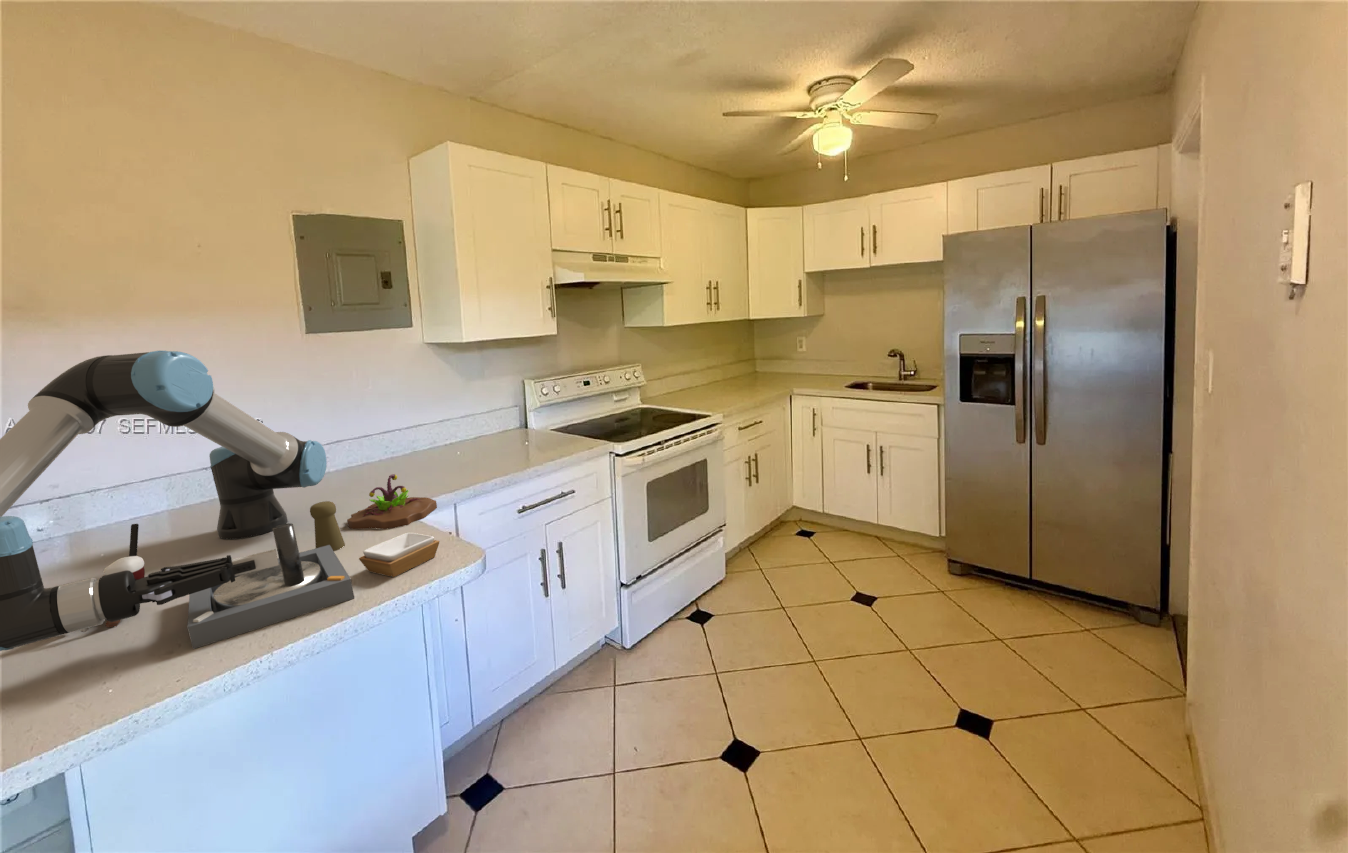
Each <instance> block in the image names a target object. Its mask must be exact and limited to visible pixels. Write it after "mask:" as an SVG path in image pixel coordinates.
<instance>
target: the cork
mask: <svg viewBox="0 0 1348 853" xmlns="http://www.w3.org/2000/svg"><path fill="white" fill-rule="evenodd" d="M336 512H337V507H336V504H335V503H334V502H333V501H330V500H329V501H327V500H325V501H320V502H317V503H313V505H311V506H310V508H309V513H310V516H311V518H312V519H314V520H313V521H314V522H313V523H314V538H315V539H314V541H315V542H314V543H315V549H316V548H319V547H323V546H327V545H330V546H331V548H332V549H333V551H334V552H336V551H339V550H341V549H343V548H344V547H345V546H346V543H345V540H344V538H343V535H342V532H341V530H340V527H339V523H338V521H337V518H336V515H335V514H336ZM343 546H344V547H343ZM342 547H343V548H342ZM340 548H341V549H340Z"/></svg>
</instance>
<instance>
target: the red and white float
mask: <svg viewBox="0 0 1348 853" xmlns="http://www.w3.org/2000/svg"><path fill="white" fill-rule="evenodd" d="M139 526H140V525H139V523H131V525H130V537H129V538H130V539H129V553H128V554H129V555H128V556H125V557H121V558H118V559H116V560H115V561H113V562H112V563H110V564H109V565H107V566H106V567H105V568H104V569H103V571H102V573H103V574H104V575H108V574H113V573H117V572H121V571H126V570H128V571H131V572H132V573H133V575H134V578H135V579H141V578H144V577H145V573H146V572H145V571H146V570H145V561H144V559H143V557H141V556H138V545H139V544H138V543H139V542H138V540H139Z"/></svg>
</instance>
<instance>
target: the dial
mask: <svg viewBox="0 0 1348 853" xmlns="http://www.w3.org/2000/svg"><path fill="white" fill-rule="evenodd" d="M294 526H295V525H294V524H293V523H291V522H290V523H289V522H287V523H286V524H282V525H278V526H276V527H274V528H273V531H272V533H273V538H274V542H275V547H276V553H277V557H278V558H279V561H280V564H279V565H277V566H273V567H269V568H265V569H262V570H258V571H254V572H250V573H246V574H242V575H240V576H238V577H235V581H234V582H231V580H230V581H229V582H227V583H224V584H223V585H221V586H220V587H219V588H218V589H217V590H216V591H215V592H214V594H213V596H214V600H215V605H216V608H217V609H219V610H221V611H222V610H226V609H229V608H233V607H236V606H240V605H243V604H246V603H250V602H253V601H257V600H260V599H264V598H267V597H270V596H274V595H277V594H281V593H284V592H288V591H291V590H294V589H298V588H301V587H305V586H308V585H312V584H315V583H319V582H320V581H321V579H322V574H321V570H320V566H319V565H318V564H317V563H314V562H309V561H301V560H300V555H299V553H300V552H299V546H298V541H297V537H296V532H295V531H296V530H295V527H294Z"/></svg>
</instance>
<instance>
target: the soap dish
mask: <svg viewBox="0 0 1348 853" xmlns="http://www.w3.org/2000/svg"><path fill="white" fill-rule="evenodd" d="M439 545H440V540H437V539H436V540H435V537H434V536H433V535H427V534H422V533H417V532H406V533H402V534H400V535H398V536H395V537H393V538H389V539H387V540H385V541H382V542H380V543H377V544H375V545H372V546H370V547H367V548H366V549H364V550H363V551H362V552H363V556H360V557H358V560H359V562H361V564H362V565H363V566H364V567H365V569H366V570H367V571H368V572H370V573H374V574H379V575H382V574H383V576H387V577H388V576H389V577H391V576H392V577H393V578H396V577H398V576H399V575H401V574H403V573H405V572H407V570H408V571H410V570H411V568H412V569H413V568H415V567H417V566H419V565H421V564H424V563H425V562H428V561H430V560H432V559H434V558H435V557H436V553H437V551H438V549H439ZM431 558H432V559H431ZM429 559H430V560H429ZM423 562H424V563H423ZM409 569H410V570H409ZM395 576H396V577H395Z"/></svg>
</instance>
